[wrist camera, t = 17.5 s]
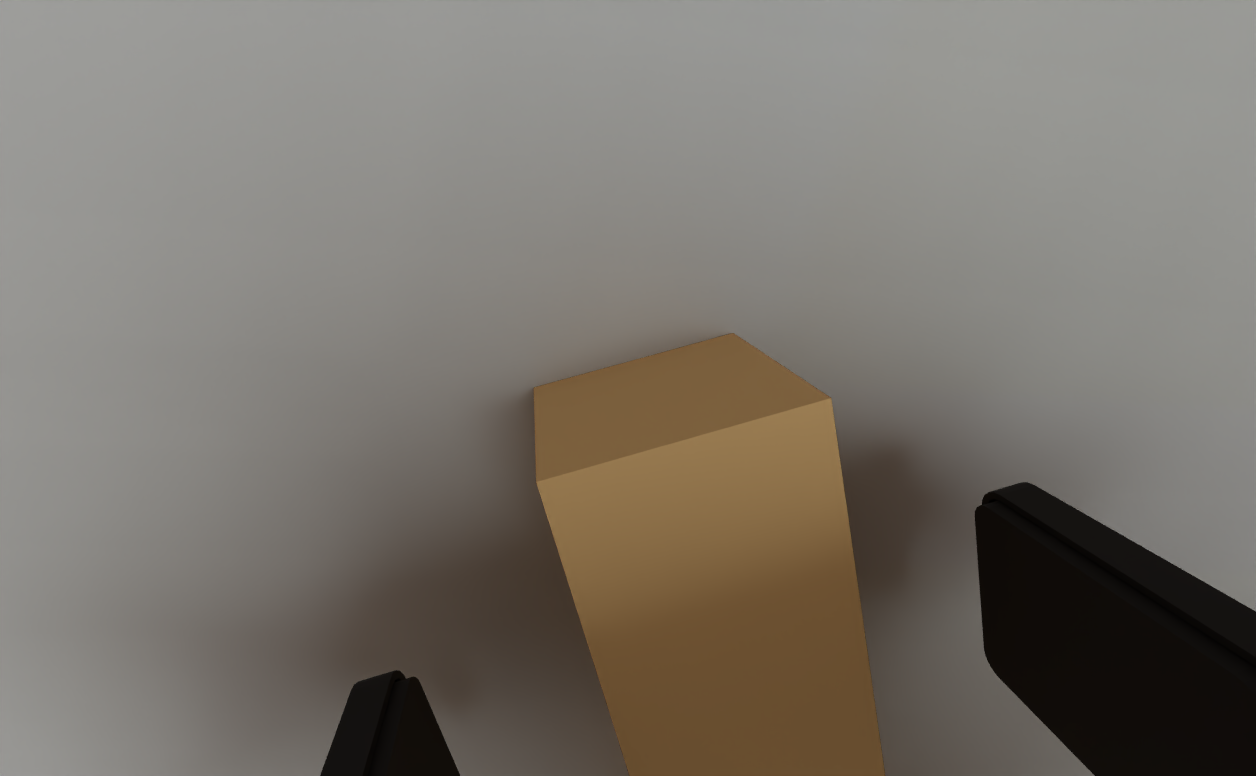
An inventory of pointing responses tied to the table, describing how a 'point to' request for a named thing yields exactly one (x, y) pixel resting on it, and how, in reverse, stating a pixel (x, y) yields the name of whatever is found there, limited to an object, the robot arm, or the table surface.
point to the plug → (711, 562)
